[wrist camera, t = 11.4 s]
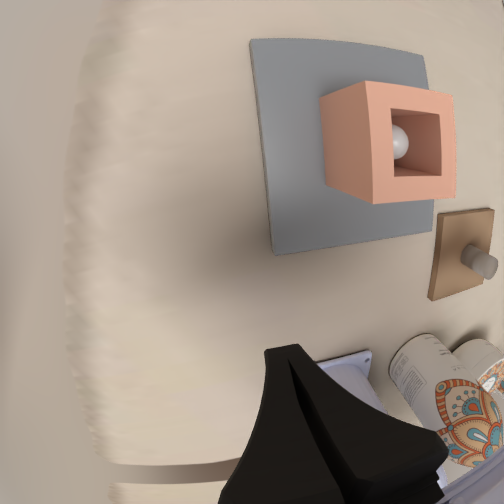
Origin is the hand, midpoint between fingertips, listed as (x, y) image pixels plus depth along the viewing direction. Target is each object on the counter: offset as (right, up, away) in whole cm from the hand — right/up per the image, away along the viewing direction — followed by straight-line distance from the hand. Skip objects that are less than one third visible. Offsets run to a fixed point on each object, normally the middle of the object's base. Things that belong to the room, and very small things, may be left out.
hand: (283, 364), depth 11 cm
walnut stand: (+19, +5, +12) cm, 22 cm away
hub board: (+6, +12, +7) cm, 15 cm away
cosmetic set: (+25, -9, +18) cm, 32 cm away
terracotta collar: (+6, +12, +6) cm, 14 cm away
